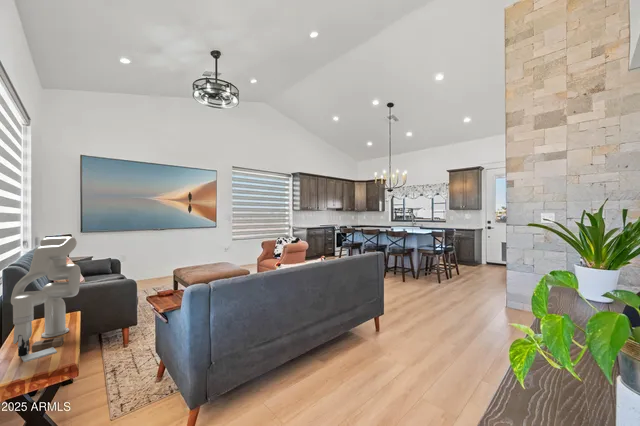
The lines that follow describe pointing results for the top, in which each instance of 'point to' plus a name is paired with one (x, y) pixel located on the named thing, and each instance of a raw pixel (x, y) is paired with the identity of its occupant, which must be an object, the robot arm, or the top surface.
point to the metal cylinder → (27, 347)
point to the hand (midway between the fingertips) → (23, 353)
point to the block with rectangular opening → (47, 343)
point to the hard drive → (38, 354)
